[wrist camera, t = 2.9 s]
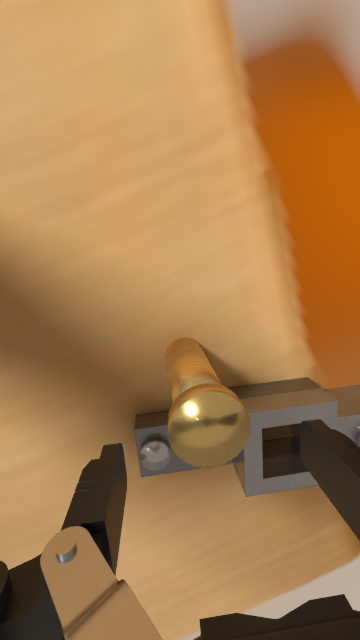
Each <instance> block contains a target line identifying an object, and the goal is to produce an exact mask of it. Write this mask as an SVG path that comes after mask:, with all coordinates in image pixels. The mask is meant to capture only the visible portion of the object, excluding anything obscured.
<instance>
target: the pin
mask: <svg viewBox="0 0 360 640" xmlns="http://www.w3.org/2000/svg"><path fill="white" fill-rule="evenodd" d="M167 364H168V371H169V378H170V385H171V392H172V399H173V404H172V405H171V408H170V410H169V413H168V433H169V441H170V444H171V447H172V449H173V451H174V452H175V454H176V455H177V456H178V457H179V458H180V459H182V460H183V461H184V462H186V463H188V464H190V465H193V466H197V467H215V466H219V465H222V464H225V463H227V462H229V461H230V460H232V459H233V458H235V457H236V456H237V455H238V454H239V453H240V452H241V451H242V450H243V449H244V447H245V445H246V444H247V442H248V439H249V436H250V431H251V423H250V418H249V415H248V413H247V411H246V409H245V408H244V406H243V405H242V403H241V401H240V400H239V398H238V397H237V396H236V394H235V393H234V392H232V391H231V390H230V389H228V388H226V387H224V386H222V384H221V382H220V380H219V379H218V377H217V375H216V373H215V371H214V370H213V368H212V366H211V364H210V362H209V361H208V359H207V357H206V355H205V353H204V352H203V350H202V348H201V346H200V345H199V344H198V343H197V342H196V341H195V340H193V339H190V338H181V339H178V340H176V341H174V342H173V343H172V344H171V345H170V346H169V348H168V350H167Z"/></svg>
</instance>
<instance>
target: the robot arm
mask: <svg viewBox="0 0 360 640" xmlns="http://www.w3.org/2000/svg"><path fill="white" fill-rule="evenodd" d="M300 454H301V458H302V461H303V463H304V465H305V467H306V468H307V470H308V471H309V472H310V474H311V475H312V476H313V478H314V479H315V480H316V482H317V483H318V485H319V486H320V487H321V489H322V490H323V491H324V493H325V494H326V495H327V497H328V498H329V500H330V501H331V502H332V504H333V505H334V506H335V508H336V509H337V510H338V512H339V513H340V514H341V516H342V517H343V519H344V520H345V521H346V523H347V524H348V525H349V527H350V528H351V529H352V531H353V532H354V534H355V535H356V536H357V538H358V539H359V540H360V447H359V446H357V444H356V443H355V442H354V441H352V440H351V439H350V438H349V437H348V436H347V435H345V434H343V433H341V432H339V431H337V430H335V429H331V428H329V427H328V426H327V425H326V424H325V423H324V422H323V421H322V420H321V419H314V420H306V421H302V422H301V428H300ZM126 491H127V474H126V467H125V460H124V453H123V446H122V443H118V444H110V445H104V446H103V449H102V452H101V456H100V459H95V460H91V461H90V462H89V463H88V464H87V465H86V467H85V468H84V469H83V470H82V473H81V476H80V479H79V483H78V484H77V487H76V490H75V493H74V495H73V498H72V501H71V504H70V507H69V509H68V512H67V515H66V518H65V521H64V523H63V526H62V529H61V531H60V532H59V533H57V534H56V535H55V536H54V537H53V538H52V539H51V540H50V541H49V542H48V543H47V545H46V546H45V548H44V550H43V552H42V554H40V555H39V556H37V557H35V558H33V559H32V560H29V561H27V562H25V563H23V564H21V565H19V566H16V567H14V568H12V569H10V570H8V568H7V565H6V564H5V563H4V562H2V561H0V640H163V639H162V637H161V636H160V634H159V633H158V631H157V629H156V628H155V626H154V625H153V623H152V621H151V620H150V618H149V617H148V615H147V614H146V612H145V610H144V609H143V607H142V606H141V604H140V602H139V601H138V599H137V598H136V596H135V594H134V593H133V591H132V590H131V588H130V587H129V585H128V584H127V582H126V581H125V580H123V579H122V580H121V581H120V582H119V581H118V580H117V578H116V577H115V575H116V567H117V559H118V552H119V544H120V537H121V529H122V521H123V514H124V506H125V499H126ZM200 629H201V635H200V636H199V637H197V638H195V639H194V640H360V611H356V610H353V609H352V608H351V606H350V604H349V602H348V601H347V599H346V597H345V595H344V594H342V595H337V596H331V597H325V598H319V599H314V600H309V601H307V602H306V603H304V604H303V605H301V606H299V607H298V608H296V609H294V610H293V611H291V612H290V613H288V614H286V615H285V616H283V617H281V618H279V619H270V618H263V617H257V616H251V615H246V614H239V613H233V614H227V615H222V616H216V617H210V618H204V619H200Z"/></svg>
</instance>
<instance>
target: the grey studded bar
mask: <svg viewBox="0 0 360 640" xmlns="http://www.w3.org/2000/svg"><path fill="white" fill-rule="evenodd" d="M228 389H230V390H231V391H232V392H234V393H235V394H236V396H237V397H238V398H239V400H240V401H241V403H242V405H243V406H244V408H245V409H246V411H247V413H248V415H249V418H250V423H251V431H250V436H249V439H248V442H247V444H246V445H245V447H244V449H243V450H242V451H241V452H240V453H239V454H238V455H237V456H236V457H235V458H233V459H232V460H230V461H229V462H227V463H225V464H230V463H233V465H234V468H235V470H236V473H237V476H238V478H239V481H240V483H241V486H242V488H243V491H244V493H245V496H246V497H248V496H254V495H260V494H266V493H272V492H278V491H284V490H291V489H297V488H303V487H309V486H315V485H318V483H317V482H316V480H315V479H314V478H313V476H312V475H311V474H310V472H309V471H308V470H307V468H306V467H305V465H304V463H303V461H302V458H301V454H300V428H301V422H302V421H306V420H314V419H321V420H322V421H323V422H324V423H325V424H326V425H327V426H328V427H329V428H331V429H335V430H337V431H339V432H341V433H343V434H345V435H347V436H348V437H349V438H350V439H351V440H352V441H354V442H355V443H356V444H357V446H359V447H360V385H355V386H347V387H340V388H332V389H325V390H323V389H322V388H320V387H319V386H318V385H316V384H315V383H314V382H313V381H311V380H310V379H309V378H300V379H292V380H285V381H277V382H269V383H262V384H254V385H246V386H239V387H231V388H228ZM168 413H169V411H163V412H156V413H148V414H141V415H136V419H135V428H134V431H135V438H136V445H137V451H138V458H139V465H140V472H141V477H146V476H152V475H159V474H165V473H172V472H178V471H185V470H191V469H198V468H204V467H197V466H193V465H190V464H188V463H186V462H184V461H183V460H182V459H180V458H179V457H178V456H177V455H176V454H175V452H174V451H173V449H172V447H171V444H170V441H169V433H168ZM290 424H292V437H289V438H282V439H276V440H269V441H262V429H263V428H270V427H277V426H283V425H290ZM222 465H224V464H222Z"/></svg>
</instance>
